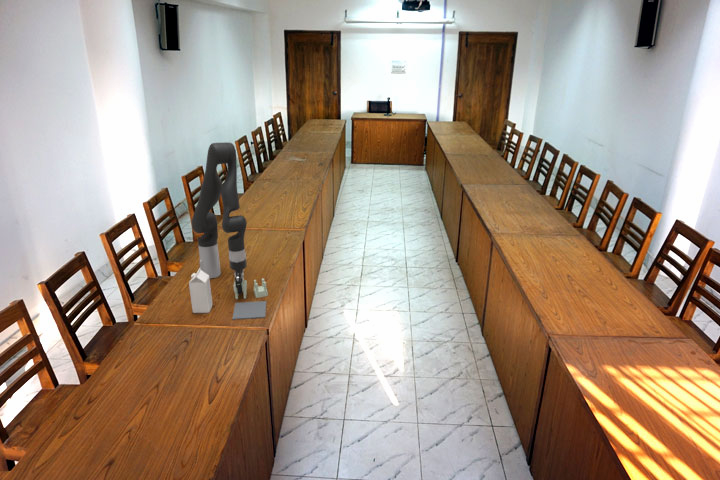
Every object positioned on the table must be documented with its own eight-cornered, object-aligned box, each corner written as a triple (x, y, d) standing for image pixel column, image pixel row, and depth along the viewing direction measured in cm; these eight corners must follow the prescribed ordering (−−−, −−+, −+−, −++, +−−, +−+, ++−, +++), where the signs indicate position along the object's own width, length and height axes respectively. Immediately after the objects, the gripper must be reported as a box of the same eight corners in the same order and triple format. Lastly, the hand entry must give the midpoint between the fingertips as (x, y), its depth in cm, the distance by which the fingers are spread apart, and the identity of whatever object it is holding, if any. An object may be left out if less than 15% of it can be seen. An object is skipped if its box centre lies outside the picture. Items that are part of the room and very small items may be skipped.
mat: (232, 319, 219) (232, 318, 219) (235, 303, 232) (235, 302, 231) (265, 317, 221) (265, 316, 220) (266, 302, 233) (266, 300, 233)
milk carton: (212, 305, 231) (208, 267, 223) (209, 313, 224) (204, 274, 217) (197, 305, 230) (191, 267, 223) (192, 313, 224) (187, 274, 217)
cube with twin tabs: (234, 299, 236) (233, 286, 233) (235, 293, 241) (234, 280, 238) (246, 298, 236) (245, 285, 234) (247, 293, 241) (246, 280, 239)
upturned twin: (256, 298, 237) (255, 284, 234) (253, 293, 242) (252, 279, 239) (267, 296, 239) (266, 282, 236) (265, 290, 244) (264, 277, 241)
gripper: (230, 252, 237) (234, 284, 243) (227, 265, 224) (230, 298, 230) (247, 251, 238) (250, 283, 244) (244, 264, 225) (247, 297, 231)
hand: (240, 290), depth 237 cm, fingers closed on cube with twin tabs, 5 cm apart
